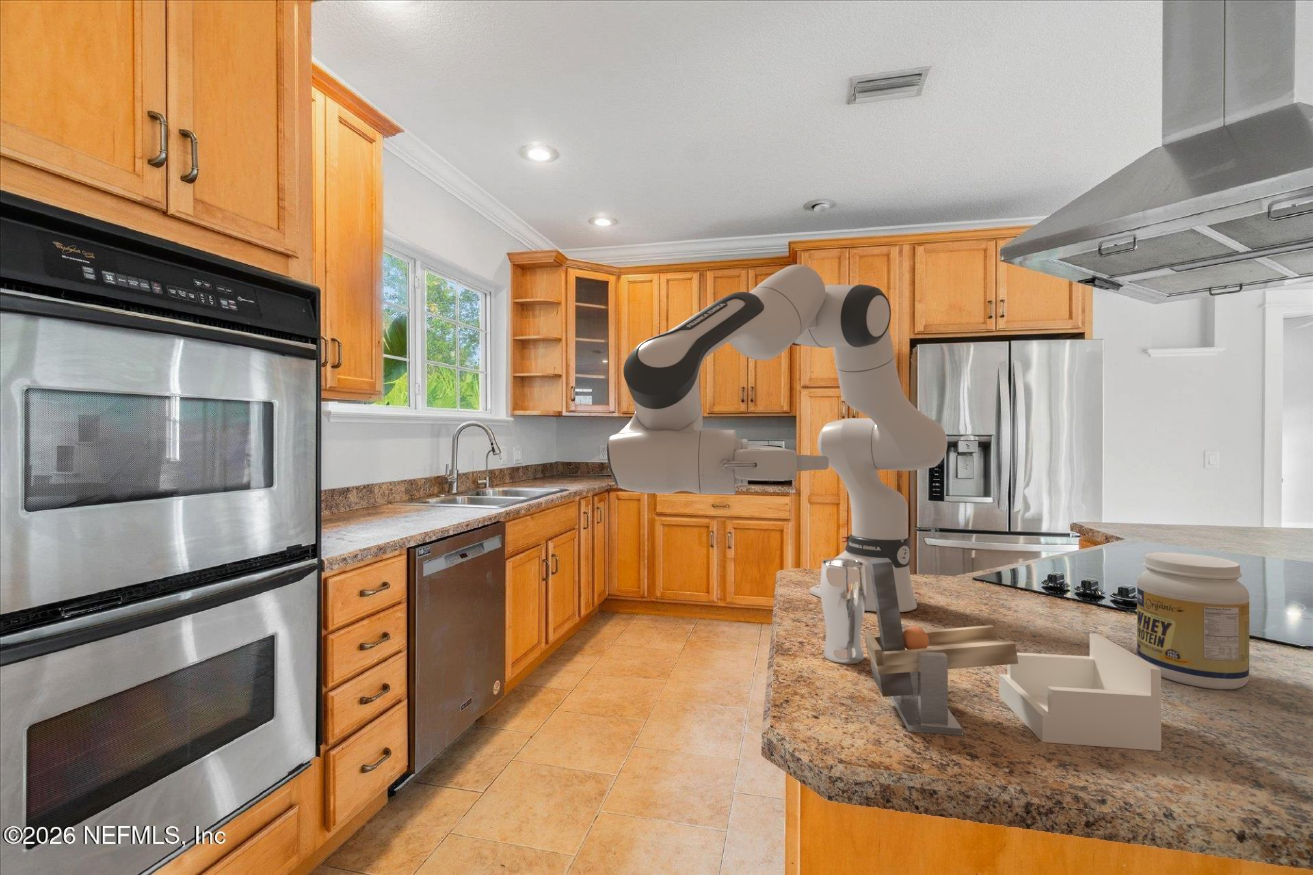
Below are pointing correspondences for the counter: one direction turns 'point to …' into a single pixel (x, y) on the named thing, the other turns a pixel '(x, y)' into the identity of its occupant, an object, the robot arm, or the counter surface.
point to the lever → (956, 643)
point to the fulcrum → (928, 697)
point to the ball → (915, 638)
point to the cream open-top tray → (1087, 697)
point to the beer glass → (843, 608)
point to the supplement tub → (1194, 619)
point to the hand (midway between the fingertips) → (827, 462)
